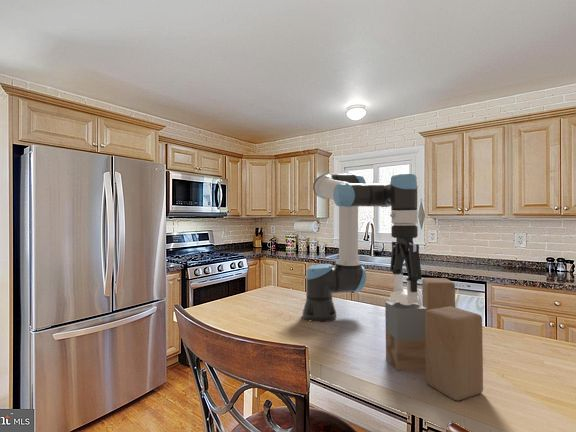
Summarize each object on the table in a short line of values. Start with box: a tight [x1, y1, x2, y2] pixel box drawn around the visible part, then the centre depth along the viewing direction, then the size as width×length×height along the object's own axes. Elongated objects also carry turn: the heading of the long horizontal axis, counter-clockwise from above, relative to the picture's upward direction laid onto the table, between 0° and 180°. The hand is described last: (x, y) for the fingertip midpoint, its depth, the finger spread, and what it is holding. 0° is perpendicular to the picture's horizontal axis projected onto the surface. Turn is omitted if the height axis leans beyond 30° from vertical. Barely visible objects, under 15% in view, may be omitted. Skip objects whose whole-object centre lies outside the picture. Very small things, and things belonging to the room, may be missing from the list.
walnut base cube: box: [385, 330, 426, 373], centre depth 99 cm, size 9×9×9 cm
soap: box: [388, 288, 420, 305], centre depth 99 cm, size 9×7×3 cm
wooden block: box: [421, 277, 456, 310], centre depth 127 cm, size 10×10×20 cm
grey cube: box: [384, 300, 427, 341], centre depth 99 cm, size 9×9×9 cm
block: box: [425, 306, 484, 402], centre depth 84 cm, size 10×10×20 cm
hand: (405, 298), depth 99 cm, fingers closed on soap, 9 cm apart
